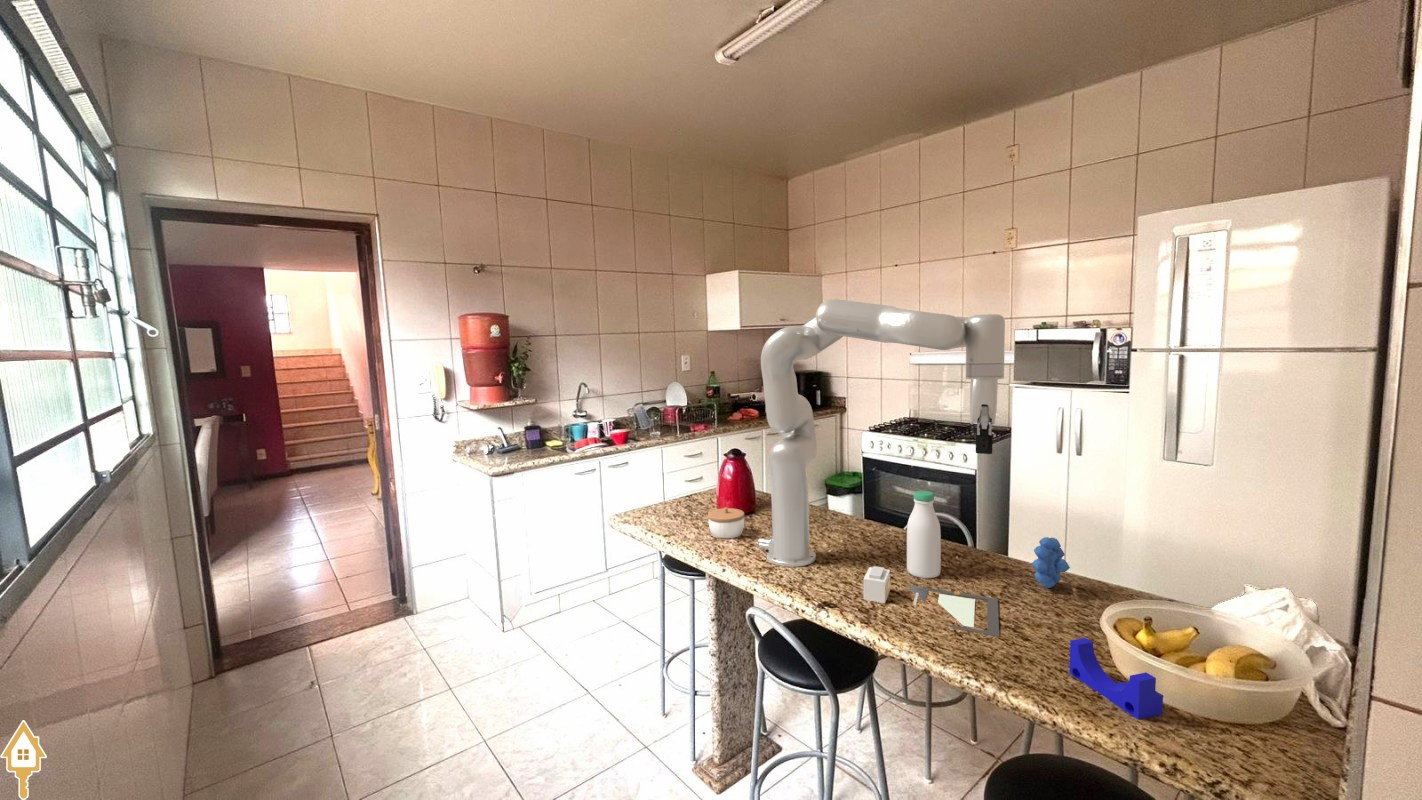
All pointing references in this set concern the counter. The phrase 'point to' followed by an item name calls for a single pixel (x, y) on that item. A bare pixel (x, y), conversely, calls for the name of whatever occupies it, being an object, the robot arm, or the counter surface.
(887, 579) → the plug
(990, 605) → the two-window grey frame
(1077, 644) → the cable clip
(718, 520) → the lidded jar
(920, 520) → the milk bottle
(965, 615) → the port pad
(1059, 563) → the grapes
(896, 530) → the counter surface
